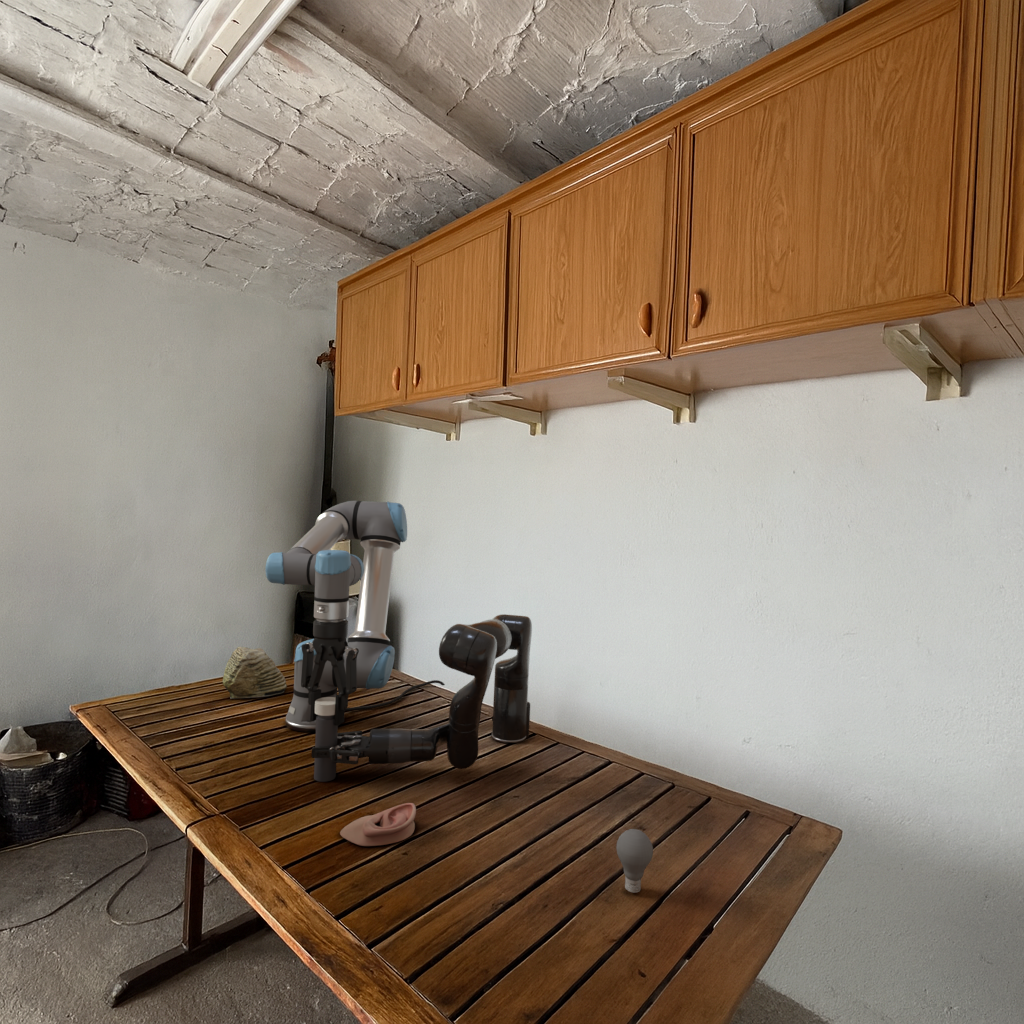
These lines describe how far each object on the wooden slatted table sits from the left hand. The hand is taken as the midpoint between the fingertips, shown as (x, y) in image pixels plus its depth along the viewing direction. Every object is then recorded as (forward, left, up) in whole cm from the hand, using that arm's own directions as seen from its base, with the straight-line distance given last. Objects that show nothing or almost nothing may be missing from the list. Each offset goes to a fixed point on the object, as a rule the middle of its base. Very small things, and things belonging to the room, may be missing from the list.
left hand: (327, 721), depth 143 cm
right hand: (+2, -2, -6) cm, 7 cm away
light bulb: (-10, +72, -13) cm, 74 cm away
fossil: (-19, -64, -13) cm, 68 cm away
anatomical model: (+7, +27, -13) cm, 31 cm away
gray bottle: (0, 0, -13) cm, 13 cm away
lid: (0, 0, +4) cm, 4 cm away
